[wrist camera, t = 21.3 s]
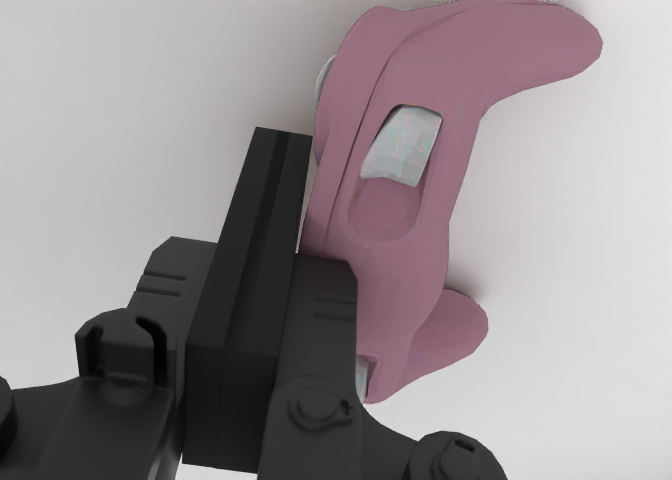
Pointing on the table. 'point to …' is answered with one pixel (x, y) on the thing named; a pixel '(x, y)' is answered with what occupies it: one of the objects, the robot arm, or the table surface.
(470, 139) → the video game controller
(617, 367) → the table surface
